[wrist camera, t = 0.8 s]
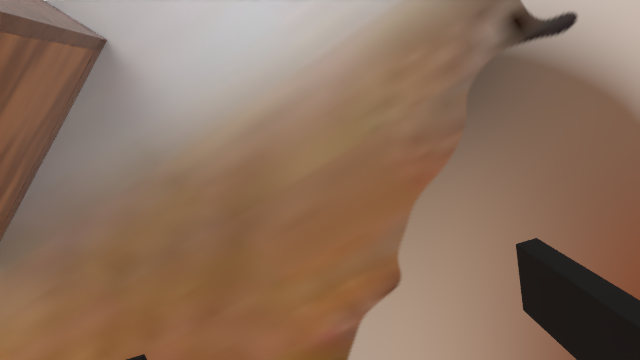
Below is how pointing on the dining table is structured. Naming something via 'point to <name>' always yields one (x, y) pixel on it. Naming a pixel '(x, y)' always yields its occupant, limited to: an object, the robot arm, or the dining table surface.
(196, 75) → the dining table surface
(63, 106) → the open box
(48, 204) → the dining table surface
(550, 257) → the robot arm
